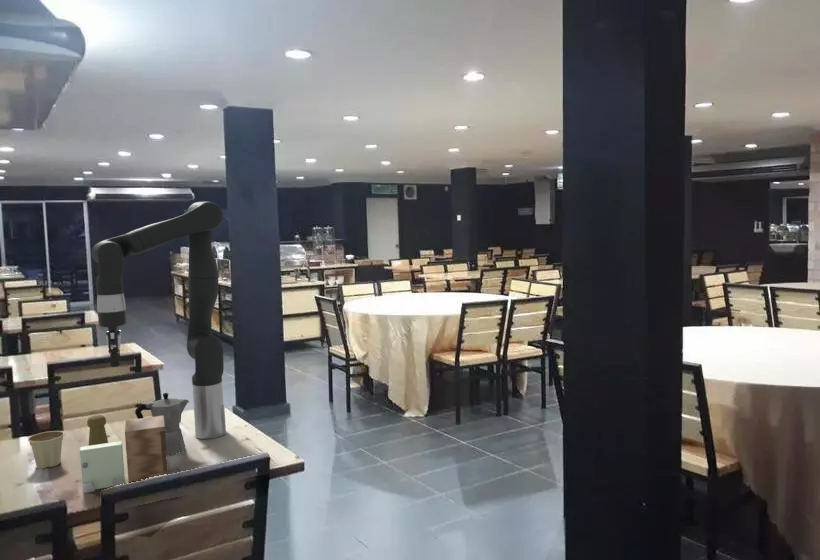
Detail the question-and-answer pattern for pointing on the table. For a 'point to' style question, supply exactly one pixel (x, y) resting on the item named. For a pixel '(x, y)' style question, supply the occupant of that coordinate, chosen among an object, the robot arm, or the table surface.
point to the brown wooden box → (145, 448)
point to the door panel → (102, 464)
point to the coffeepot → (168, 420)
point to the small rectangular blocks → (90, 485)
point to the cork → (97, 430)
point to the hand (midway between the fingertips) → (115, 363)
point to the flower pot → (47, 448)
